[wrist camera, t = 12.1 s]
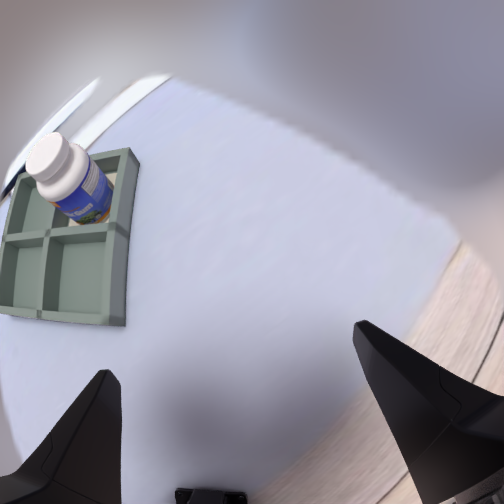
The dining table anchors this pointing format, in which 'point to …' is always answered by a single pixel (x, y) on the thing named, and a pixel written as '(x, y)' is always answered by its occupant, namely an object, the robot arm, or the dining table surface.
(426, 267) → the dining table surface
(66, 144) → the pill bottle
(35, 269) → the divided tray
